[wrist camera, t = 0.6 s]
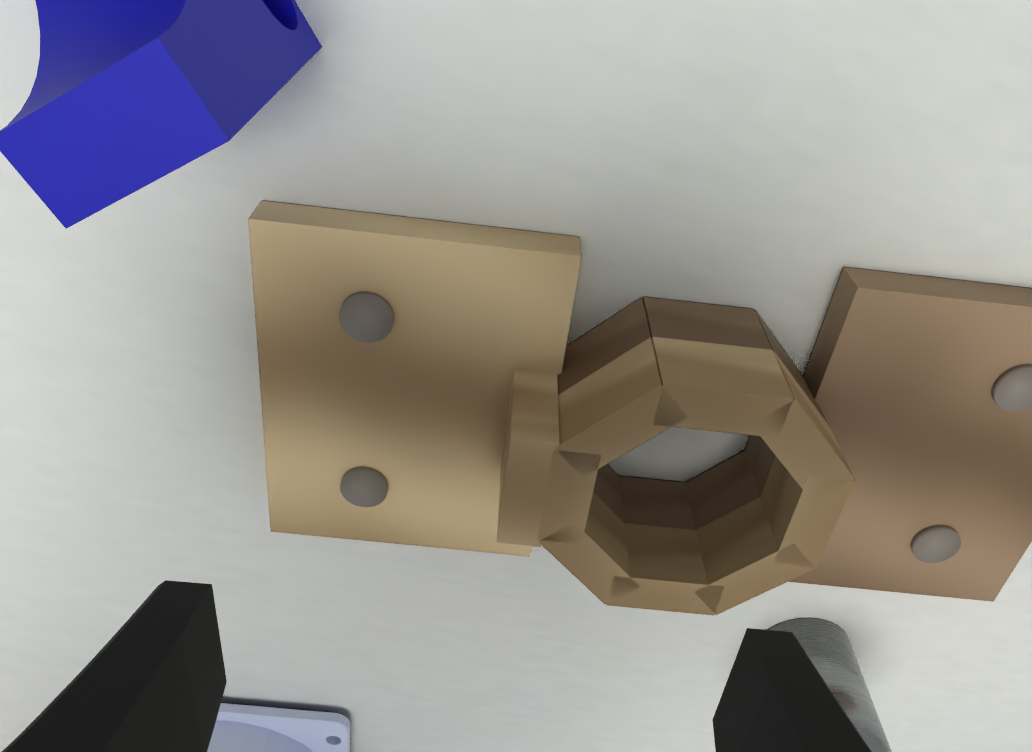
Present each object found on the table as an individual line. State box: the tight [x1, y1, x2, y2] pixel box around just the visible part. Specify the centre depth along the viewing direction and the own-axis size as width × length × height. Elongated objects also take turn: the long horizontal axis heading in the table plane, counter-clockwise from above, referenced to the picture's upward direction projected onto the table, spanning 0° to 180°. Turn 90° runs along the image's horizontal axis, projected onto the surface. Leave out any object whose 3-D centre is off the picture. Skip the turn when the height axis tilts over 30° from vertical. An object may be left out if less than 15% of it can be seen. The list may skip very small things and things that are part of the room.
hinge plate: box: [557, 267, 1032, 601], centre depth 20 cm, size 9×13×2 cm
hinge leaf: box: [249, 201, 855, 615], centre depth 19 cm, size 9×13×4 cm
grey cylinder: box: [768, 618, 891, 752], centre depth 23 cm, size 3×3×6 cm
